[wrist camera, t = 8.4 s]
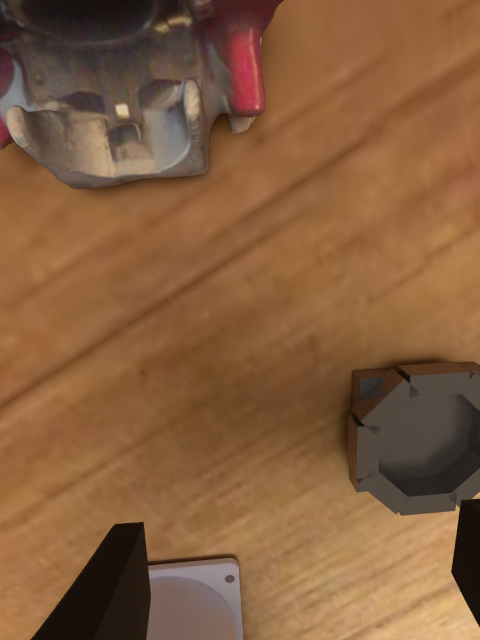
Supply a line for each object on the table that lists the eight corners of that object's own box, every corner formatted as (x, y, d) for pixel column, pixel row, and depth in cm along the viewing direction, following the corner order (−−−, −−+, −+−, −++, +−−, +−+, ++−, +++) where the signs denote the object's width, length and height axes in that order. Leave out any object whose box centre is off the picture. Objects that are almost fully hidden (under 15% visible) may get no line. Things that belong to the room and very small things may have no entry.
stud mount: (470, 476, 20) (500, 506, 18) (340, 488, 20) (355, 519, 18) (484, 351, 19) (519, 368, 17) (342, 361, 18) (359, 379, 16)
